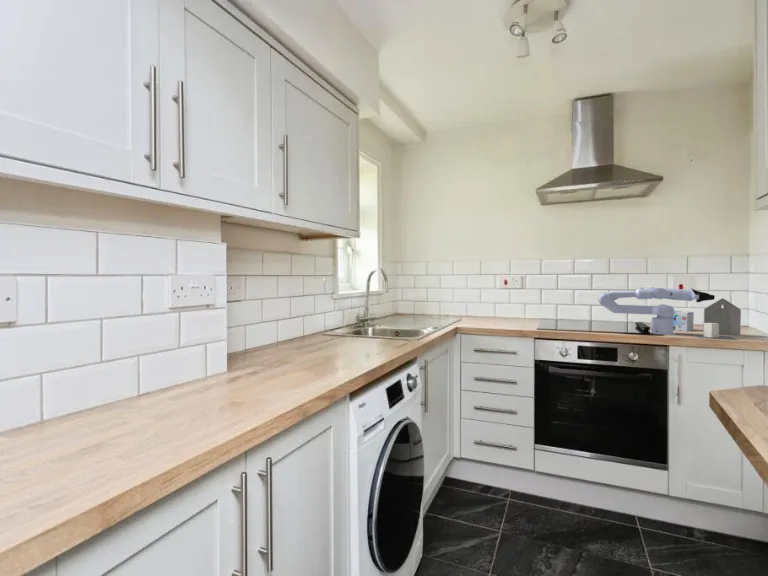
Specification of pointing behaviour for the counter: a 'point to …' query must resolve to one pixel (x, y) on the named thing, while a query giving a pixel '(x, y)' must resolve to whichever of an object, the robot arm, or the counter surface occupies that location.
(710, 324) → the cream block
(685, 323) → the light bulb box
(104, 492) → the counter surface
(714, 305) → the gray chamfered slab
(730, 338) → the rubber mat
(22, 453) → the counter surface
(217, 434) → the counter surface
